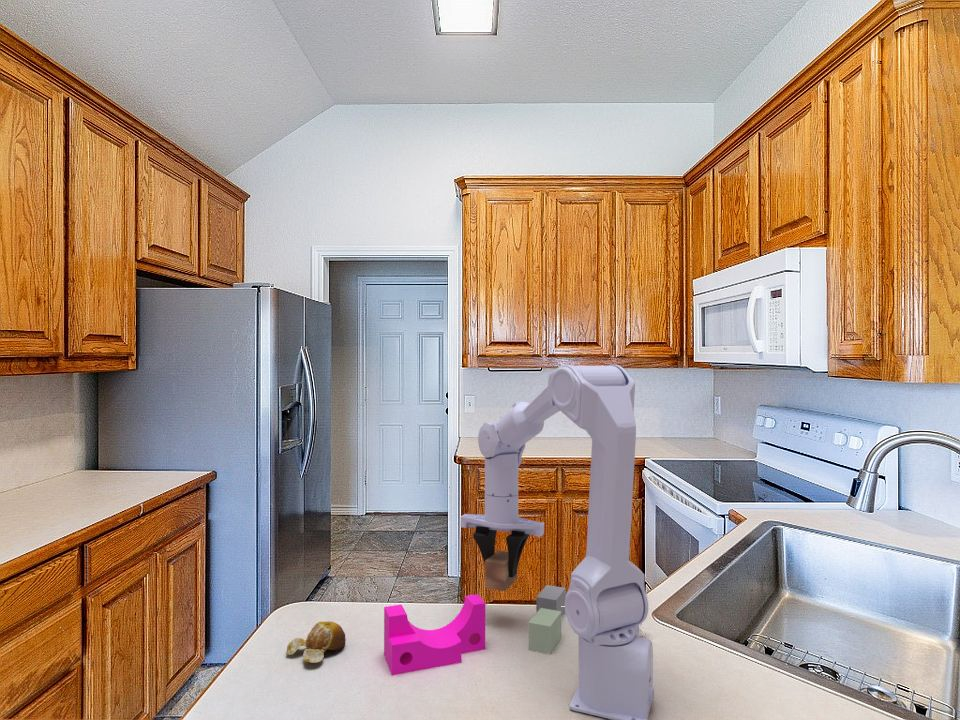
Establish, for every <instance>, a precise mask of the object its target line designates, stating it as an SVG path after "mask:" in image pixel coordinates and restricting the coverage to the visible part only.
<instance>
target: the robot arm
mask: <svg viewBox="0 0 960 720" xmlns="http://www.w3.org/2000/svg"><path fill="white" fill-rule="evenodd" d="M548 375H549V376H548V381H547V384H546V386H544V388H543V389H542V390H540V391H539V392H538V393H537V395H535V396H534V398H533V399H532V400H531V401H530V402H527V401H516V402H514V403H513V404H512V408H511V409H510V410H508V412H506V413H505V414H503V415H501V416H500V417H499V419H498V420H497V421H496V422H495V423H491V422H484V423H483V424H482V426H481V427H480V428H479V430H478V436H477V443H478V449H479V451H480V453H481V455H482V456H483V457H484V514H472V513H471V514H470V513H464V514H462V515H461V516H460V528H463V529H466V528H467V529H468V528H472V529H473V528H474V529H475V532H473V534H472V535H473V539H474V541H475V543H476V544H477V547H478V549H479V551H480V554H481V557H482V560H483V564H484V565H485V561H486V560H487V559H488V558H489V557H491V556H492V555H493V554H495V553H496V551H495V547H496V538H497V531H499V532H505V533H506V532H507V533H509V535H507V536H506V537H505V541H506V547H507V552H508V556H509V564H508V572H509V577H514V576H515V575H516V574H517V575H518V567H519V563H520V559H521V556H522V553H523V550H524V548H525V546H526V543H527V541H528V539H529V537H530V535H533V536H535V537H537V538H541V537H542V536H543V535H545V522H543V521H535V520H531V519H527V518H522V517H519V467H520V466H521V464H522V457H523V453H524V451H525V449H526V444H527V443H528V442H530V441H531V440H532V439H534V438H535V437H536V436H538V435H539V434H540V433H541V432H542V431H543V429H544V427H545V421H546V420H548V419H549V418H551V417H552V416H554V415H555V414H557V413H559V412H562V414H563V415H565V416H566V417H567V418H568V419H569V420H570V421H572V422H573V423H574V424H575V425H576V426H577V427H579V428H580V429H582V430H584V431H586V433H587V435H589V436H590V438H591V453H590V455H591V456H590V475H589V493H588V494H589V495H588V496H589V497H588V498H589V499H588V515H587V516H588V517H587V518H588V519H587V533H586V534H587V536H586V554H585V557H584V558H583V559H582V560H581V562H580V563H579V564H578V565H577V566H576V567H575V569H574V570H573V571H572V572H571V574H570V583H569V588H568V590H567V591H566V597H565V613H564V614H565V617H566V619H567V622H568V625H569V626H570V628H571V629H572V630H573V632H574V634H576V635H577V636H578V685H577V686H578V687H577V689H576V691H575V693H574V694H573V697H572V699H571V701H570V703H569V704H568V705H569V710H571V711H576V712H579V713H583V714H587V715H591V716H597V717H600V718H604V719H608V720H649V719H648V718H649V715H650V711H651V708H652V703H653V702H654V696H655V695H654V694H655V693H654V691H655V688H654V666H653V665H654V652H653V651H654V649H653V647H654V646H653V641H652V640H651V639H648V638H646V637H643V636H641V637H640V636H638V635H637V633H639V624H641V623H642V624H643V622H644V621H646V619H647V616H648V613H649V601H648V596H647V593H646V588H645V586H646V585H645V577H646V576H645V573H643V571H642V570H641V569H640V568H639V567H638V566H637V565H636V564H634V563H633V562H632V561H630V552H631V551H630V550H631V549H630V547H631V531H632V529H631V528H632V517H633V516H632V512H633V494H634V493H633V492H634V479H635V478H634V474H635V458H636V441H637V424H636V418H635V413H634V411H635V409H634V408H635V392H636V391H635V390H636V382H635V381H634V380H633V378H632V377H631V376H630V375H629V373H628V372H627V371H626V370H625V368H623V367H622V366H620V365H617V364H608V365H572V364H562V365H559V366H558V367H557V368H556V369H555V370H554V371H553V372H551V373H549V374H548ZM510 533H511V534H510Z"/></svg>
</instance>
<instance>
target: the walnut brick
mask: <svg viewBox="0 0 960 720" xmlns="http://www.w3.org/2000/svg"><path fill="white" fill-rule="evenodd" d="M508 564H509V556H508V551H507V550H506V551H505V550H497V551H495V554H493V555H492V556H491V557H489V558H488V559H487V560H486V561H485V564H484V588H485V589H489V590H493V591H494V590H495V591H496V590H497V591H501V592H505V591H506V590H508V589H509V588H510V587H511V586H512V585H513V584H514V583H515V582H516V581H517V580H518V573H517V574H516V575H515V576H514V577H509V572H508Z"/></svg>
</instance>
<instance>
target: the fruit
mask: <svg viewBox="0 0 960 720" xmlns="http://www.w3.org/2000/svg"><path fill="white" fill-rule="evenodd" d="M346 638H347V637H346V633H345V631H344V629H343V627H342V626H341V625H340V624H338V623H337V622H334V621H329V620H328V621H327V620H325V621H319V622H317V623H315V624H314V625H313V627H312V628H311V630H310V632H309V633H308V634H307V637H306V638H305V640H304V638H302V637H301V638H300V637H296V638H294V639H292V640H291V641H289V642H288V644H287V647H286V652H285V653H286V655H294V654H295V653H296V652H297V650H298V649H300V648H301V647H305V648H306V649H304V650H303V654H302V657H303V662H304V663H311V664H312V663H313V664H314V663H315V664H316V663H317V664H318V663H320V662H322V661H323V660H324V658H325V657H324V656H325V652H326V651H328V650H332V651H335V652H336V651H341V650H343V648H344V647H345V646H346V641H347V639H346Z"/></svg>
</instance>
